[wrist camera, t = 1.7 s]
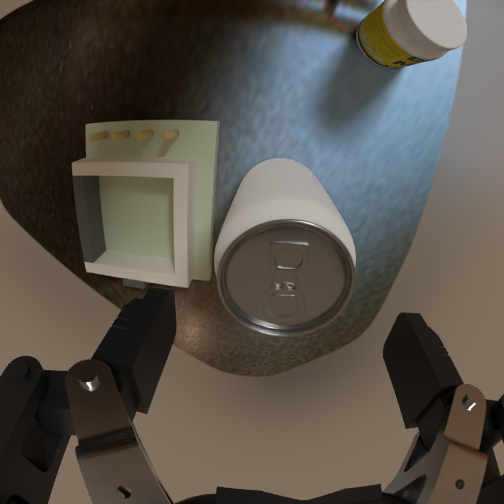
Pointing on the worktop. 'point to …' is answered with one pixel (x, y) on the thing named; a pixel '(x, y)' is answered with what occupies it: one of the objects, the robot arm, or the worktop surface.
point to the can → (284, 252)
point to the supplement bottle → (410, 32)
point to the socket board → (148, 200)
